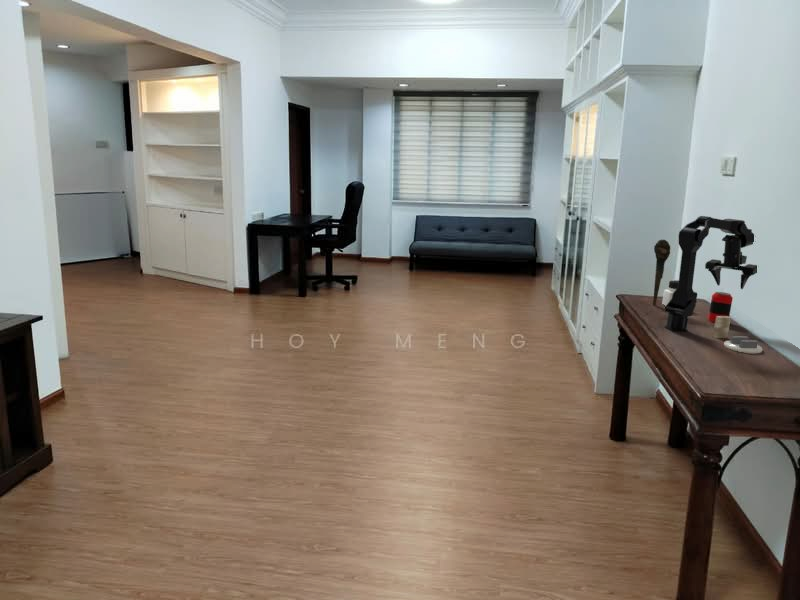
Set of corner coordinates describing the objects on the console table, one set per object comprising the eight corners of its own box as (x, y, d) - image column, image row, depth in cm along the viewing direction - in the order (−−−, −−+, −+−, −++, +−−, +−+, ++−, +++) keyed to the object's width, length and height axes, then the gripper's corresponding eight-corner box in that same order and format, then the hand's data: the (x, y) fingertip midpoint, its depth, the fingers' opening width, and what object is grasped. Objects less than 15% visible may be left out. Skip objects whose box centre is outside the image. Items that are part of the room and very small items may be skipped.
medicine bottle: (684, 308, 269) (688, 282, 267) (668, 308, 270) (672, 282, 267) (677, 305, 276) (681, 279, 274) (661, 304, 276) (665, 278, 274)
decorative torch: (659, 307, 269) (669, 241, 262) (643, 304, 274) (653, 239, 266) (664, 305, 274) (674, 240, 267) (648, 302, 279) (658, 238, 271)
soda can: (704, 320, 252) (708, 292, 249) (714, 318, 256) (719, 290, 253) (721, 324, 246) (726, 296, 243) (731, 322, 250) (737, 294, 247)
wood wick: (716, 337, 226) (719, 317, 225) (712, 336, 228) (716, 316, 226) (727, 338, 227) (730, 317, 225) (723, 336, 229) (727, 316, 227)
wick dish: (738, 353, 209) (740, 344, 208) (716, 342, 220) (718, 333, 219) (769, 353, 210) (771, 344, 209) (746, 343, 222) (748, 333, 221)
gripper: (766, 248, 238) (763, 285, 243) (718, 243, 253) (716, 278, 258) (753, 255, 232) (750, 293, 237) (705, 249, 246) (703, 285, 251)
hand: (730, 287), depth 246 cm, fingers open, 9 cm apart
